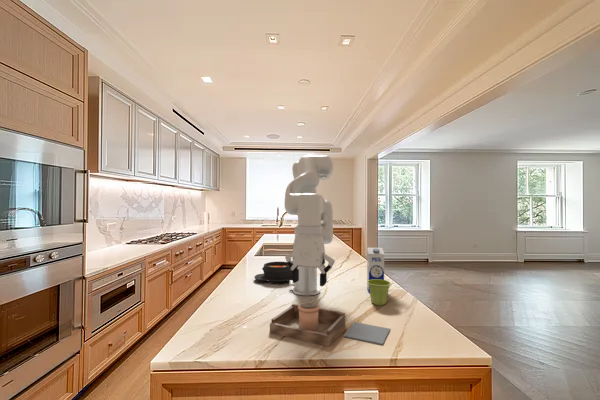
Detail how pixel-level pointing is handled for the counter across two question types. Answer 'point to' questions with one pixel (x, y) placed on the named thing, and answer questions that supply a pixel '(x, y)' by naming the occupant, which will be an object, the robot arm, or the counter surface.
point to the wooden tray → (326, 339)
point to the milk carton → (375, 264)
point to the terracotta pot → (308, 316)
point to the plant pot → (378, 291)
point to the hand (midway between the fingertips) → (308, 283)
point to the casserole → (275, 272)
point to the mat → (367, 333)
